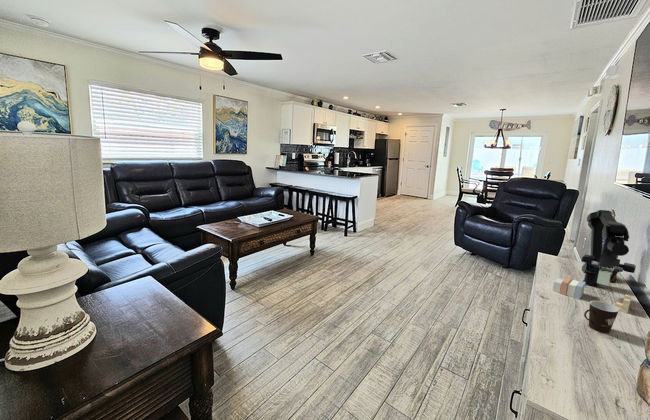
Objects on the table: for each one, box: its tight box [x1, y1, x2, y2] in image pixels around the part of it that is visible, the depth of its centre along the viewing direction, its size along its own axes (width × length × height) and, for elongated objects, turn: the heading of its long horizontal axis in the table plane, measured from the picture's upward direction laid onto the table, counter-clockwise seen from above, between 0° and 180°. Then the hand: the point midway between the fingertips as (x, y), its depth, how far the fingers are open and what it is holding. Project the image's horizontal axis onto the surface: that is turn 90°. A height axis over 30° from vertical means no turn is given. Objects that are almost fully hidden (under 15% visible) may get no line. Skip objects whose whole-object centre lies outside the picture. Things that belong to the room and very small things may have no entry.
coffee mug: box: [583, 300, 620, 334], centre depth 120 cm, size 12×9×10 cm
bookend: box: [614, 294, 633, 314], centre depth 136 cm, size 8×4×6 cm, turn 130°
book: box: [597, 267, 614, 287], centre depth 145 cm, size 9×4×6 cm, turn 130°
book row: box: [552, 276, 586, 300], centre depth 151 cm, size 9×11×6 cm
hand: (604, 279), depth 146 cm, fingers closed on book, 4 cm apart
